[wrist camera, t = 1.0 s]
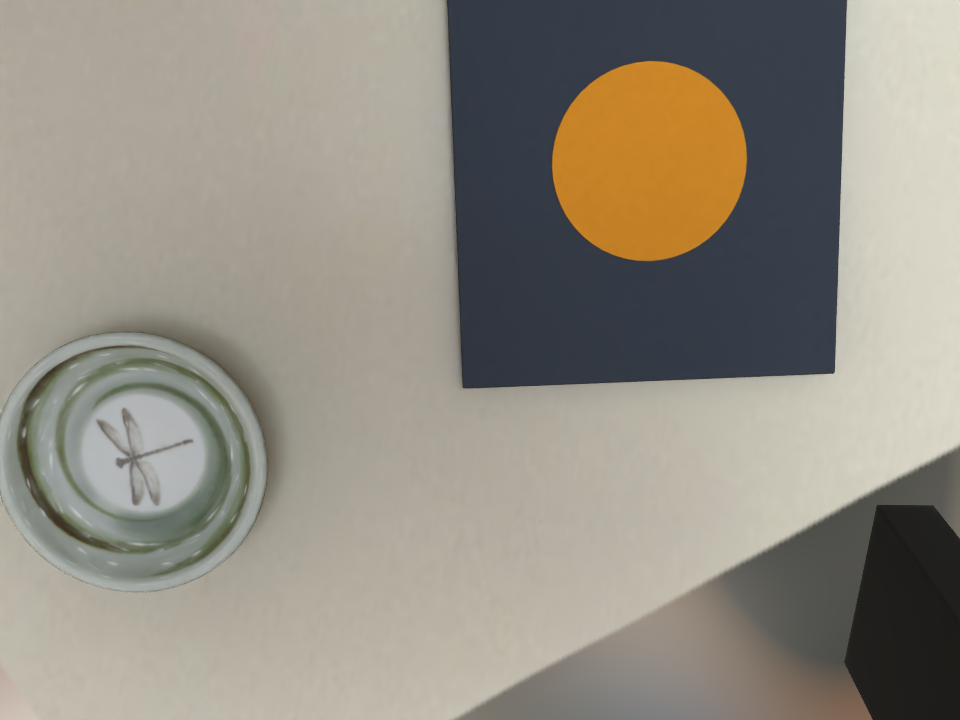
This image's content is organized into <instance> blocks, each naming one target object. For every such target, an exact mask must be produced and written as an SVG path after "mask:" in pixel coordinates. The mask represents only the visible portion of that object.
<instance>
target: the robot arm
mask: <svg viewBox="0 0 960 720" xmlns="http://www.w3.org/2000/svg"><path fill="white" fill-rule="evenodd" d="M845 665H846V667H847V669H848V671H849V673H850V675H851V677H852V679H853V681H854V683H855V685H856V687H857V689H858V691H859V693H860V695H861V697H862V699H863V701H864V703H865V705H866V707H867V709H868V711H869V713H870V715H871V717H872V719H873V720H960V539H959V537H958V536H957V535H956V533H955V532H954V531H953V530H952V529H951V527H950V526H949V525H948V524H947V522H946V521H945V520H944V519H943V517H942V516H941V515H940V514H939V512H938V511H937V510H936V509H935V508H934V506H922V505H920V506H919V505H918V506H917V505H877V507H876V512H875V517H874V522H873V527H872V532H871V536H870V541H869V546H868V551H867V556H866V561H865V566H864V570H863V575H862V580H861V585H860V590H859V595H858V599H857V604H856V609H855V614H854V619H853V623H852V628H851V633H850V638H849V643H848V648H847V652H846V657H845Z"/></svg>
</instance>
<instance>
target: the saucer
mask: <svg viewBox="0 0 960 720" xmlns="http://www.w3.org/2000/svg"><path fill="white" fill-rule="evenodd" d="M267 473H268V462H267V450H266V444H265V439H264V435H263V431H262V428H261V425H260V422H259V420H258V417H257V415H256V413H255V411H254V409H253V407H252V405H251V403H250V402H249V400H248V398H247V396H246V395H245V394H244V392H243V391H242V390H241V388H240V387H239V386H238V385H237V383H236V382H235V381H234V380H233V379H232V378H231V376H230V375H229V374H228V373H227V372H226V371H224V370H223V369H222V368H221V367H220V366H219V365H218V364H217V363H215V362H214V361H212V360H211V359H210V358H208V357H207V356H205V355H204V354H202V353H200V352H199V351H197V350H195V349H193V348H191V347H189V346H187V345H185V344H182V343H180V342H178V341H175V340H172V339H169V338H166V337H162V336H157V335H152V334H147V333H139V332H110V333H103V334H96V335H92V336H88V337H84V338H81V339H78V340H75V341H73V342H70V343H68V344H66V345H64V346H62V347H60V348H58V349H56V350H54V351H53V352H51V353H50V354H48V355H47V356H45V357H44V358H43V359H41V360H40V361H39V362H38V363H36V364H35V365H34V366H33V367H32V368H31V369H30V370H29V371H28V372H27V373H26V374H25V375H24V376H23V378H22V379H21V380H20V381H19V382H18V384H17V385H16V387H15V388H14V390H13V391H12V393H11V394H10V396H9V398H8V400H7V402H6V404H5V406H4V409H3V411H2V414H1V417H0V495H1V498H2V501H3V503H4V505H5V508H6V510H7V512H8V514H9V516H10V518H11V519H12V521H13V523H14V525H15V526H16V528H17V529H18V531H19V532H20V534H21V535H22V536H23V537H24V539H25V540H26V541H27V542H28V543H29V545H30V546H31V547H32V548H33V549H34V550H35V551H36V552H38V553H39V554H40V555H41V556H42V557H43V558H44V559H45V560H47V561H48V562H49V563H51V564H52V565H53V566H55V567H56V568H58V569H59V570H61V571H63V572H64V573H66V574H68V575H70V576H72V577H74V578H76V579H78V580H80V581H82V582H85V583H88V584H91V585H94V586H97V587H101V588H105V589H109V590H115V591H123V592H153V591H160V590H164V589H170V588H173V587H177V586H180V585H183V584H186V583H188V582H191V581H193V580H195V579H197V578H199V577H201V576H203V575H205V574H207V573H208V572H210V571H212V570H213V569H215V568H216V567H217V566H219V565H220V564H221V563H222V562H224V561H225V560H226V559H227V558H228V557H229V556H230V555H231V554H232V553H233V552H234V551H235V550H236V549H237V548H238V547H239V545H240V544H241V543H242V542H243V540H244V539H245V538H246V536H247V535H248V533H249V531H250V530H251V528H252V526H253V525H254V523H255V520H256V518H257V516H258V514H259V511H260V508H261V505H262V502H263V499H264V495H265V489H266V483H267Z"/></svg>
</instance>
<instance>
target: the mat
mask: <svg viewBox="0 0 960 720" xmlns="http://www.w3.org/2000/svg"><path fill="white" fill-rule="evenodd" d="M447 5H448V30H449V54H450V79H451V104H452V129H453V154H454V179H455V203H456V228H457V253H458V278H459V303H460V327H461V352H462V377H463V388H490V387H514V386H539V385H564V384H588V383H613V382H637V381H662V380H686V379H711V378H736V377H760V376H785V375H809V374H833V373H834V372H835V347H836V317H837V286H838V255H839V225H840V194H841V163H842V133H843V102H844V71H845V40H846V10H847V0H447Z"/></svg>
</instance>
